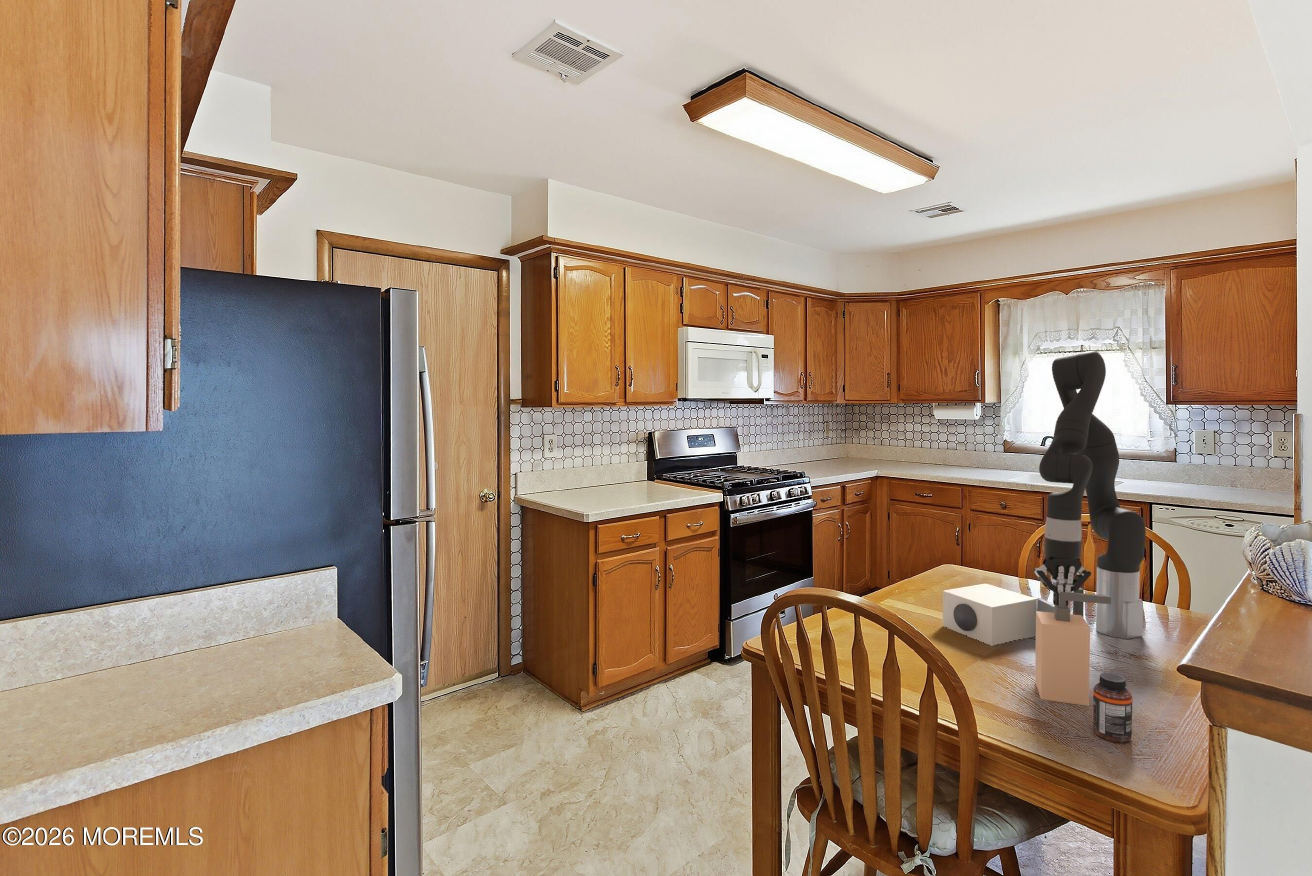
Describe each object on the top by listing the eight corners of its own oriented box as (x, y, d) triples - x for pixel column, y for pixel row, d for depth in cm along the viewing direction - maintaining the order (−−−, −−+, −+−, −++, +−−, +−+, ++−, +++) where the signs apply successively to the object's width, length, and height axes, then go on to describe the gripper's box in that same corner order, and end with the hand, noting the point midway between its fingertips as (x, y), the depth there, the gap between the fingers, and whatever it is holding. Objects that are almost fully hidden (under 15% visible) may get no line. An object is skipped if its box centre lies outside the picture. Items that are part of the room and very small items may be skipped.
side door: (1041, 634, 172) (1041, 571, 171) (1084, 658, 155) (1085, 590, 154) (1035, 634, 172) (1036, 572, 171) (1078, 659, 155) (1079, 590, 154)
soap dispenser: (1040, 699, 136) (1041, 596, 135) (1035, 682, 144) (1036, 585, 142) (1113, 709, 131) (1115, 602, 129) (1103, 692, 139) (1105, 590, 137)
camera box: (1036, 636, 171) (1036, 598, 170) (989, 646, 165) (989, 607, 164) (985, 617, 186) (985, 583, 185) (940, 626, 180) (940, 591, 179)
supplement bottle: (1094, 724, 125) (1095, 667, 124) (1132, 734, 121) (1133, 675, 121) (1090, 737, 120) (1091, 678, 120) (1130, 747, 117) (1131, 686, 116)
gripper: (1043, 539, 152) (1040, 612, 153) (1101, 540, 151) (1098, 613, 152) (1026, 533, 159) (1024, 602, 160) (1081, 533, 159) (1079, 603, 160)
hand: (1060, 607), depth 156 cm, fingers closed
